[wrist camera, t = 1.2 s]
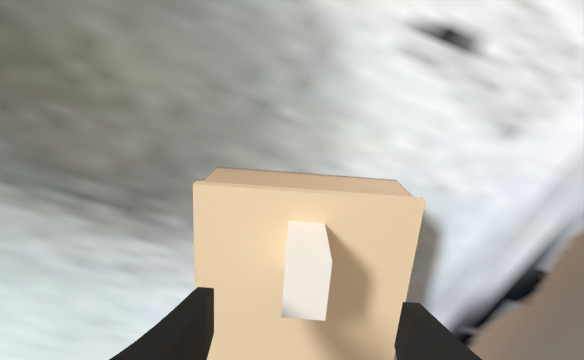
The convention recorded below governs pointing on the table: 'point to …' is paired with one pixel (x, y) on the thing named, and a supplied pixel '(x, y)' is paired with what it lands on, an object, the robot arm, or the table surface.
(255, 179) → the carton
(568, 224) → the table surface
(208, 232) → the lid
